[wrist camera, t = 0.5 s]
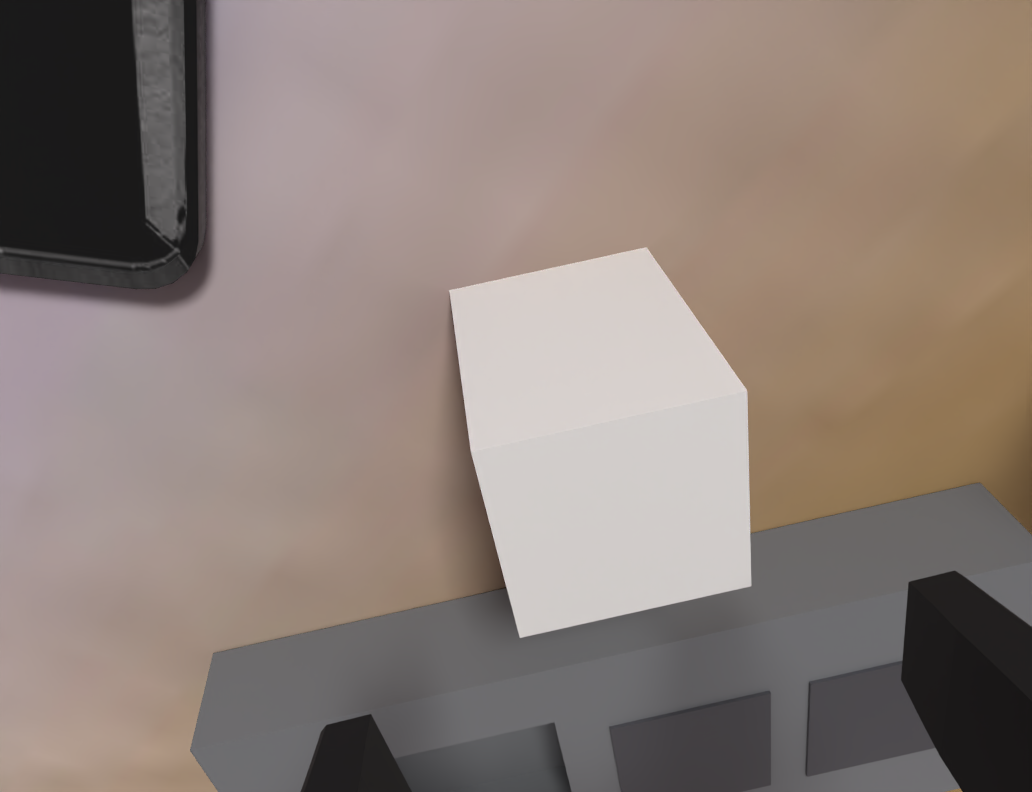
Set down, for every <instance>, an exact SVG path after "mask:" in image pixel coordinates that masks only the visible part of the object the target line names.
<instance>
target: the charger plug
mask: <svg viewBox="0 0 1032 792" xmlns="http://www.w3.org/2000/svg"><path fill="white" fill-rule="evenodd" d="M449 292H450V299H451V307H452V314H453V322H454V329H455V337H456V344H457V352H458V359H459V366H460V374H461V381H462V389H463V396H464V404H465V411H466V419H467V426H468V434H469V441H470V449H471V454H472V458H473V462H474V466H475V469H476V473H477V477H478V481H479V485H480V488H481V492H482V496H483V500H484V504H485V507H486V511H487V515H488V519H489V523H490V526H491V530H492V534H493V538H494V542H495V545H496V549H497V553H498V557H499V561H500V565H501V568H502V572H503V576H504V580H505V584H506V587H507V591H508V595H509V599H510V603H511V606H512V610H513V614H514V618H515V622H516V625H517V629H518V633H519V637H520V638H522V637H527V636H531V635H536V634H540V633H545V632H549V631H553V630H558V629H562V628H567V627H571V626H576V625H580V624H585V623H589V622H594V621H598V620H603V619H607V618H612V617H616V616H621V615H625V614H629V613H634V612H638V611H643V610H647V609H652V608H656V607H661V606H665V605H670V604H674V603H679V602H683V601H688V600H692V599H697V598H701V597H706V596H710V595H714V594H719V593H723V592H728V591H732V590H737V589H741V588H746V587H750V586H751V544H750V497H749V450H748V403H747V390H746V388H745V387H744V385H743V384H742V383H741V381H740V380H739V378H738V377H737V376H736V374H735V373H734V371H733V370H732V368H731V367H730V366H729V364H728V363H727V361H726V360H725V358H724V357H723V356H722V354H721V353H720V351H719V350H718V348H717V347H716V346H715V344H714V343H713V341H712V340H711V338H710V337H709V336H708V334H707V333H706V331H705V330H704V329H703V327H702V326H701V324H700V323H699V321H698V320H697V319H696V317H695V316H694V314H693V313H692V311H691V310H690V309H689V307H688V306H687V304H686V303H685V301H684V300H683V299H682V297H681V296H680V294H679V293H678V292H677V290H676V289H675V287H674V286H673V284H672V283H671V282H670V280H669V279H668V277H667V276H666V274H665V273H664V272H663V270H662V269H661V267H660V266H659V264H658V263H657V262H656V260H655V259H654V257H653V256H652V254H651V253H650V252H649V250H648V249H647V247H646V248H641V249H637V250H632V251H627V252H623V253H618V254H614V255H609V256H605V257H600V258H595V259H591V260H586V261H582V262H577V263H573V264H568V265H563V266H559V267H554V268H550V269H545V270H541V271H536V272H531V273H527V274H522V275H518V276H513V277H508V278H504V279H499V280H495V281H490V282H486V283H481V284H476V285H472V286H467V287H463V288H458V289H454V290H449Z"/></svg>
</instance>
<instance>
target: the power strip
mask: <svg viewBox="0 0 1032 792" xmlns="http://www.w3.org/2000/svg"><path fill="white" fill-rule="evenodd" d="M750 544H751V586H750V587H746V588H741V589H737V590H732V591H728V592H723V593H719V594H714V595H710V596H706V597H701V598H697V599H692V600H688V601H683V602H679V603H674V604H670V605H665V606H661V607H656V608H652V609H647V610H643V611H638V612H634V613H629V614H625V615H621V616H616V617H612V618H607V619H603V620H598V621H594V622H589V623H585V624H580V625H576V626H571V627H567V628H562V629H558V630H553V631H549V632H545V633H540V634H536V635H531V636H527V637H522V638H520V637H519V633H518V629H517V625H516V622H515V618H514V614H513V610H512V606H511V603H510V599H509V595H508V591H507V588H505V589H500V590H496V591H491V592H487V593H482V594H478V595H473V596H469V597H464V598H460V599H455V600H451V601H446V602H442V603H437V604H433V605H428V606H424V607H419V608H415V609H410V610H406V611H401V612H397V613H392V614H388V615H383V616H379V617H375V618H370V619H366V620H361V621H357V622H352V623H348V624H343V625H339V626H334V627H330V628H325V629H321V630H316V631H312V632H307V633H303V634H298V635H294V636H289V637H285V638H280V639H276V640H271V641H267V642H262V643H258V644H253V645H249V646H244V647H240V648H235V649H231V650H226V651H222V652H217V653H213V657H212V661H211V665H210V669H209V673H208V678H207V682H206V686H205V690H204V694H203V699H202V703H201V707H200V711H199V715H198V719H197V724H196V728H195V732H194V736H193V740H192V745H191V749H190V751H191V753H192V754H193V756H194V757H195V758H196V760H197V761H198V763H199V764H200V766H201V767H202V769H203V770H204V772H205V773H206V775H207V776H208V777H209V779H210V780H211V782H212V783H213V785H214V786H215V788H216V789H217V791H218V792H301V789H302V786H303V784H304V781H305V778H306V775H307V772H308V769H309V766H310V763H311V760H312V758H313V755H314V752H315V749H316V746H317V742H318V739H319V736H320V733H321V731H322V730H323V729H324V727H325V726H326V725H328V724H332V723H336V722H340V721H344V720H348V719H352V718H356V717H360V716H364V715H369V714H371V715H372V717H373V719H374V721H375V723H376V724H377V726H378V728H379V730H380V732H381V734H382V736H383V738H384V740H385V742H386V743H387V745H388V747H389V749H390V751H391V753H392V755H393V757H394V759H395V761H396V763H397V764H398V766H399V768H400V770H401V772H402V774H403V776H404V778H405V780H406V782H407V783H408V785H409V787H410V789H411V791H412V792H945V791H949V790H954V789H958V788H960V787H959V785H958V784H957V782H956V781H955V779H954V777H953V776H952V774H951V773H950V771H949V770H948V768H947V767H946V765H945V763H944V762H943V760H942V759H941V757H940V755H939V754H938V752H937V750H936V748H935V746H934V744H933V742H932V740H931V738H930V736H929V735H928V733H927V731H926V729H925V727H924V725H923V723H922V721H921V719H920V717H919V715H918V713H917V711H916V709H915V707H914V705H913V703H912V701H911V699H910V697H909V695H908V693H907V691H906V689H905V687H904V685H903V683H902V681H901V672H902V659H903V647H904V634H905V621H906V608H907V596H908V583H909V582H910V581H914V580H918V579H922V578H926V577H930V576H934V575H938V574H942V573H946V572H950V571H954V570H955V571H957V572H958V573H960V574H962V575H963V576H964V577H966V578H967V579H968V580H970V581H971V582H972V583H974V584H975V585H976V586H978V587H979V588H980V589H982V590H983V591H985V592H986V593H987V594H989V595H990V596H991V597H993V598H994V599H995V600H997V601H998V602H999V603H1001V604H1002V605H1003V606H1005V607H1006V608H1007V609H1009V610H1010V611H1011V612H1013V613H1014V614H1015V615H1017V616H1018V617H1019V618H1021V619H1022V620H1023V621H1025V622H1026V623H1028V624H1029V625H1030V626H1032V535H1031V534H1030V533H1029V532H1028V531H1027V530H1026V529H1025V528H1024V527H1023V526H1022V525H1021V524H1020V523H1019V522H1018V521H1017V520H1016V519H1015V518H1014V517H1013V516H1012V515H1011V514H1010V513H1009V512H1008V511H1007V510H1006V509H1005V508H1004V507H1003V505H1002V504H1001V503H1000V502H999V501H998V500H997V499H996V498H995V497H994V496H993V495H992V494H991V493H990V492H989V491H988V490H987V489H986V488H985V487H984V486H983V485H982V484H981V483H976V484H971V485H967V486H962V487H958V488H953V489H949V490H944V491H940V492H935V493H931V494H926V495H922V496H917V497H913V498H909V499H904V500H900V501H895V502H891V503H886V504H882V505H877V506H873V507H868V508H864V509H859V510H855V511H850V512H846V513H841V514H837V515H832V516H828V517H823V518H819V519H814V520H810V521H805V522H801V523H796V524H792V525H787V526H783V527H778V528H774V529H769V530H765V531H760V532H756V533H751V534H750Z"/></svg>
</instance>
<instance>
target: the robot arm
mask: <svg viewBox="0 0 1032 792" xmlns="http://www.w3.org/2000/svg"><path fill="white" fill-rule="evenodd" d="M901 681H902V683H903V685H904V687H905V689H906V691H907V693H908V695H909V697H910V699H911V701H912V703H913V705H914V707H915V709H916V711H917V713H918V715H919V717H920V719H921V721H922V723H923V725H924V727H925V729H926V731H927V733H928V735H929V736H930V738H931V740H932V742H933V744H934V746H935V748H936V750H937V752H938V754H939V755H940V757H941V759H942V760H943V762H944V763H945V765H946V767H947V768H948V770H949V771H950V773H951V774H952V776H953V777H954V779H955V781H956V782H957V784H958V785H959V787H960V788H961V790H962V791H963V792H1032V626H1030V625H1029V624H1028V623H1026V622H1025V621H1023V620H1022V619H1021V618H1019V617H1018V616H1017V615H1015V614H1014V613H1013V612H1011V611H1010V610H1009V609H1007V608H1006V607H1005V606H1003V605H1002V604H1001V603H999V602H998V601H997V600H995V599H994V598H993V597H991V596H990V595H989V594H987V593H986V592H985V591H983V590H982V589H980V588H979V587H978V586H976V585H975V584H974V583H972V582H971V581H970V580H968V579H967V578H966V577H964V576H963V575H962V574H960V573H958V572H957V571H955V570H954V571H950V572H946V573H942V574H938V575H934V576H930V577H926V578H922V579H918V580H914V581H910V582H909V583H908V596H907V608H906V621H905V634H904V647H903V659H902V672H901ZM301 792H412V791H411V789H410V787H409V785H408V783H407V782H406V780H405V778H404V776H403V774H402V772H401V770H400V768H399V766H398V764H397V763H396V761H395V759H394V757H393V755H392V753H391V751H390V749H389V747H388V745H387V743H386V742H385V740H384V738H383V736H382V734H381V732H380V730H379V728H378V726H377V724H376V723H375V721H374V719H373V717H372V715H371V714H369V715H364V716H360V717H356V718H352V719H348V720H344V721H340V722H336V723H332V724H328V725H326V726H325V727H324V729H323V730H322V731H321V733H320V736H319V739H318V742H317V746H316V749H315V752H314V755H313V758H312V760H311V763H310V766H309V769H308V772H307V775H306V778H305V781H304V784H303V786H302V789H301Z"/></svg>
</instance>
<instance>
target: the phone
mask: <svg viewBox="0 0 1032 792" xmlns="http://www.w3.org/2000/svg"><path fill="white" fill-rule="evenodd" d="M205 231H206V66H205V0H0V273H3V274H11V275H20V276H29V277H37V278H46V279H55V280H63V281H72V282H81V283H89V284H98V285H107V286H115V287H124V288H133V289H156V288H159V287H162V286H165V285H168V284H171V283H174V282H175V281H176V280H178V279H179V278H180V277H181V276H183V275H184V274H185V273H187V271H188V270H189V268H190V266H191V265H192V263H193V261H194V260H195V258H196V256H197V255H198V253H199V251H200V249H201V247H202V245H203V243H204V237H205Z"/></svg>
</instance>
